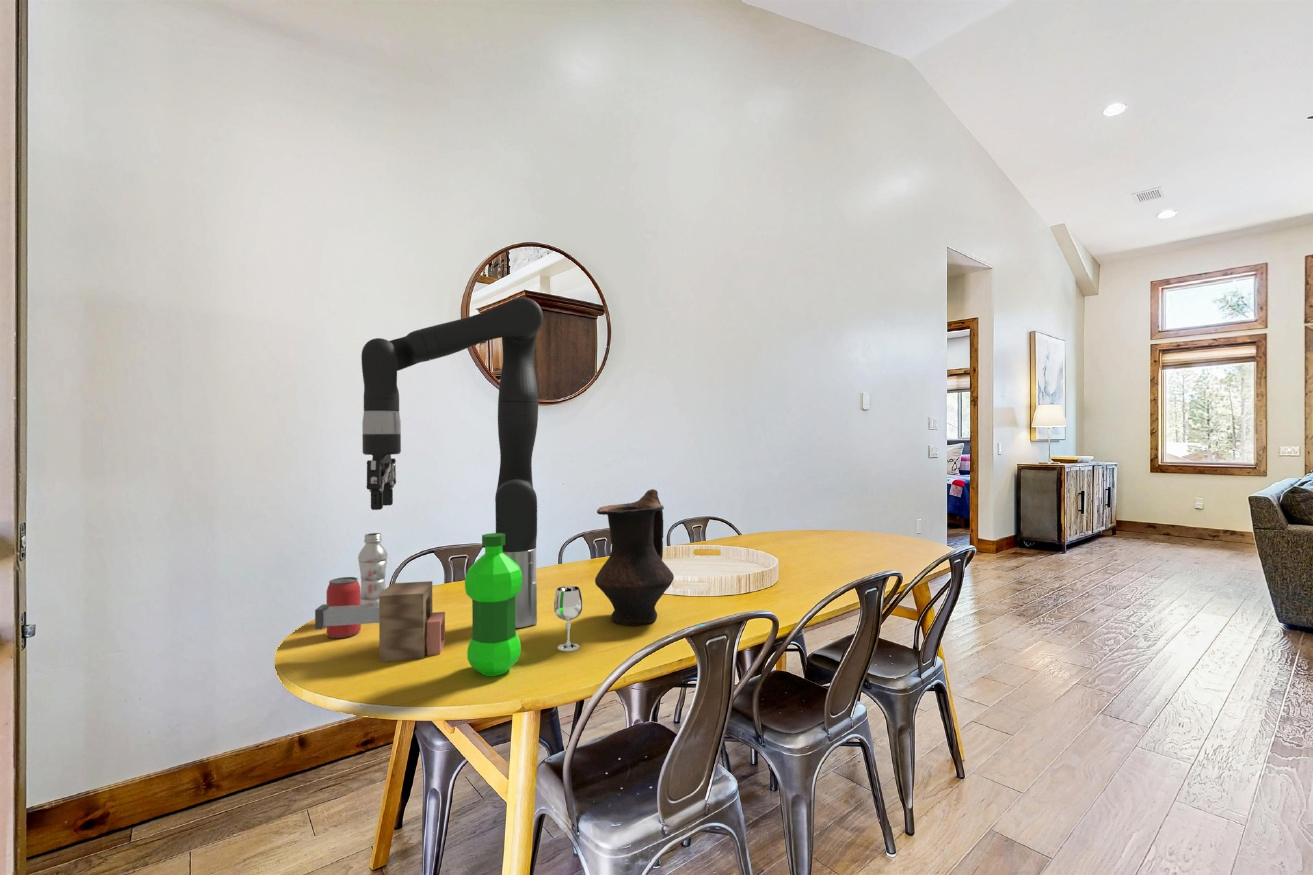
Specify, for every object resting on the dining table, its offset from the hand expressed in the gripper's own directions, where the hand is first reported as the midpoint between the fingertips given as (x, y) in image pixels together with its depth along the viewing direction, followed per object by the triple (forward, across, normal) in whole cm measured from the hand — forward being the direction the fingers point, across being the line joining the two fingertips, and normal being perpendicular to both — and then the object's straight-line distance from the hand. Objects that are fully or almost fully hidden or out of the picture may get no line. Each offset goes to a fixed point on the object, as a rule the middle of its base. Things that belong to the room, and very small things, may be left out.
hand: (382, 507), depth 127 cm
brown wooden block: (+28, -10, -7) cm, 31 cm away
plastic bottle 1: (+28, +16, +6) cm, 33 cm away
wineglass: (+28, -15, -39) cm, 50 cm away
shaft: (+22, -10, 0) cm, 24 cm away
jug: (+28, +1, -56) cm, 63 cm away
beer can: (+28, +4, +9) cm, 30 cm away
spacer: (+28, -10, -13) cm, 32 cm away
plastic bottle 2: (+28, -24, -25) cm, 45 cm away
